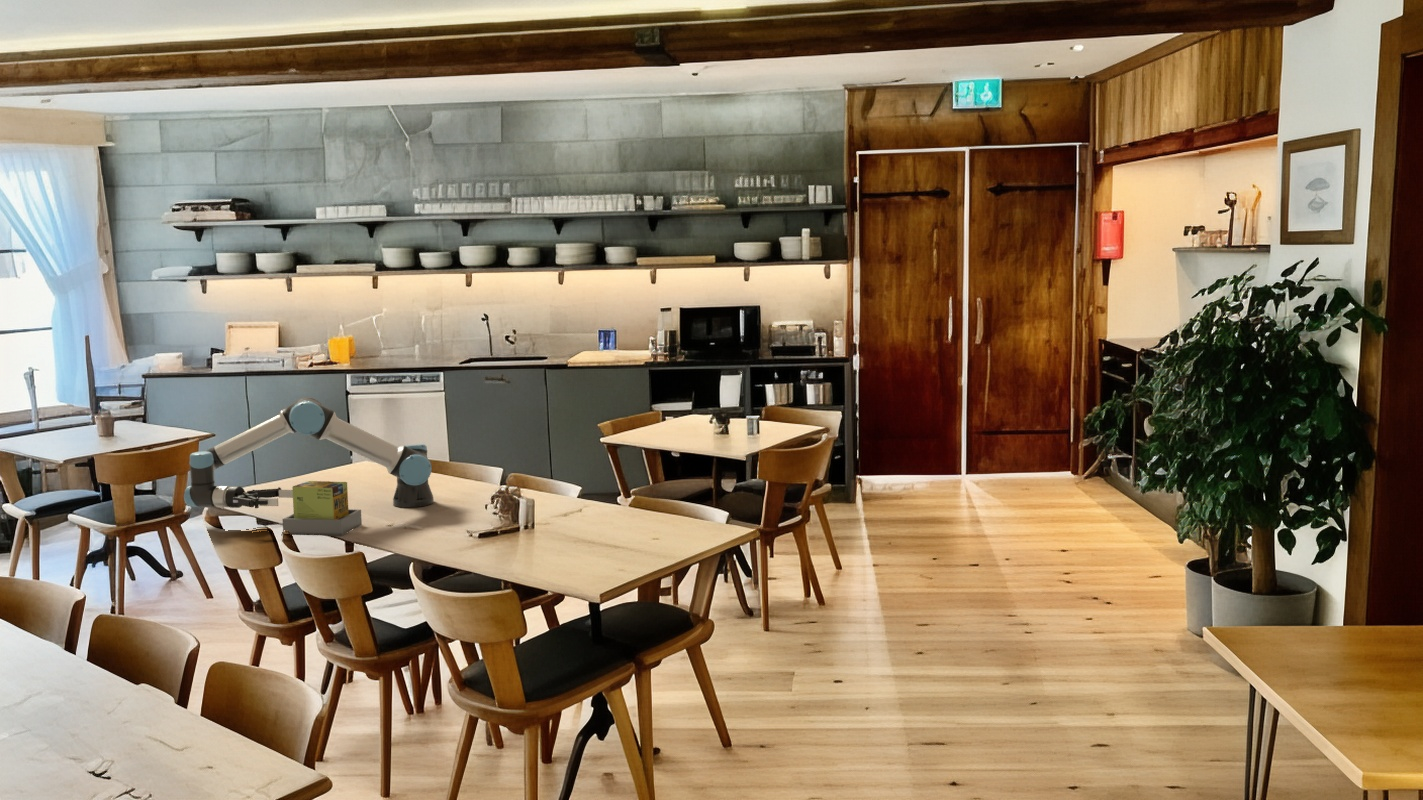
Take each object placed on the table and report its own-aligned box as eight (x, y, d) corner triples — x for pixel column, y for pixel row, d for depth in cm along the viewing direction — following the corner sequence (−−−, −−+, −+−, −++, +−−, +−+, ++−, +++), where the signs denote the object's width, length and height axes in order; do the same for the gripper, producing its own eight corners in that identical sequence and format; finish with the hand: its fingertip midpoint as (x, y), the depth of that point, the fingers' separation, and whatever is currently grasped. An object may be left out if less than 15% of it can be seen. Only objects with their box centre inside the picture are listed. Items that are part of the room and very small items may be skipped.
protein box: (334, 531, 370) (332, 487, 368) (293, 530, 373) (291, 486, 371) (350, 524, 380) (348, 481, 379) (310, 523, 383) (307, 480, 381)
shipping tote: (361, 524, 384) (361, 509, 383) (341, 535, 368) (341, 520, 367) (305, 523, 386) (304, 508, 385) (283, 534, 370) (282, 519, 369)
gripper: (249, 499, 392) (304, 500, 390) (210, 515, 367) (269, 516, 365) (247, 479, 391) (303, 480, 389) (209, 493, 366) (268, 494, 364)
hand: (287, 497), depth 377 cm, fingers open, 13 cm apart
